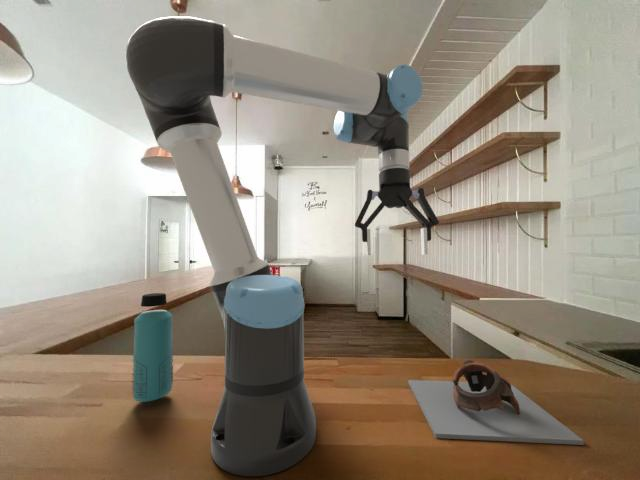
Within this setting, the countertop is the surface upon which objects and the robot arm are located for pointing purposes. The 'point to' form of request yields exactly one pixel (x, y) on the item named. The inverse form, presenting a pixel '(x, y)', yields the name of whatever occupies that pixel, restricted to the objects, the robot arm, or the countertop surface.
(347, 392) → the countertop surface
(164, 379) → the beverage bottle
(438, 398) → the gray mat
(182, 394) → the countertop surface
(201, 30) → the robot arm
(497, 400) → the broken terracotta jug
